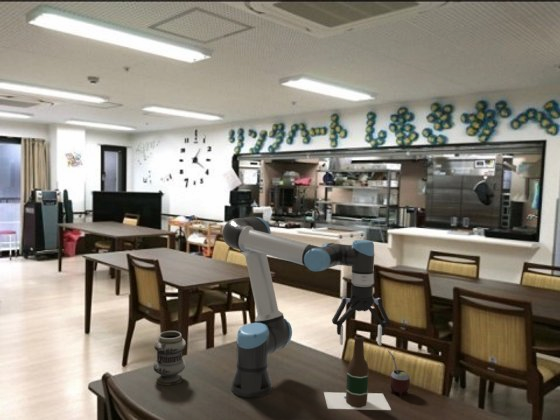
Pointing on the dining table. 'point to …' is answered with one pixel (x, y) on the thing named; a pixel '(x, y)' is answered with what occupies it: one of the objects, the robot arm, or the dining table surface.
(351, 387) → the beer bottle
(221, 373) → the dining table surface
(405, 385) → the mate gourd
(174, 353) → the apothecary jar
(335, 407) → the letter card
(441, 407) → the dining table surface
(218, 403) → the dining table surface
